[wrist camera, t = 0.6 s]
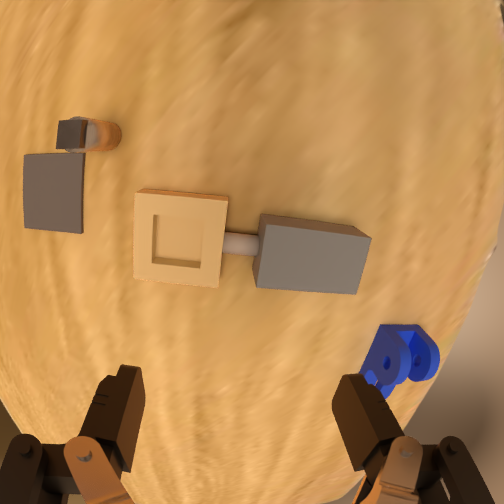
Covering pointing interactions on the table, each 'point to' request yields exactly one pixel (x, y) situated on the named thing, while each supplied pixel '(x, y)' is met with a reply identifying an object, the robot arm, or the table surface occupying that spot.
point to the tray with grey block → (241, 246)
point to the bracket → (400, 357)
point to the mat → (54, 191)
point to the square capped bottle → (87, 135)
